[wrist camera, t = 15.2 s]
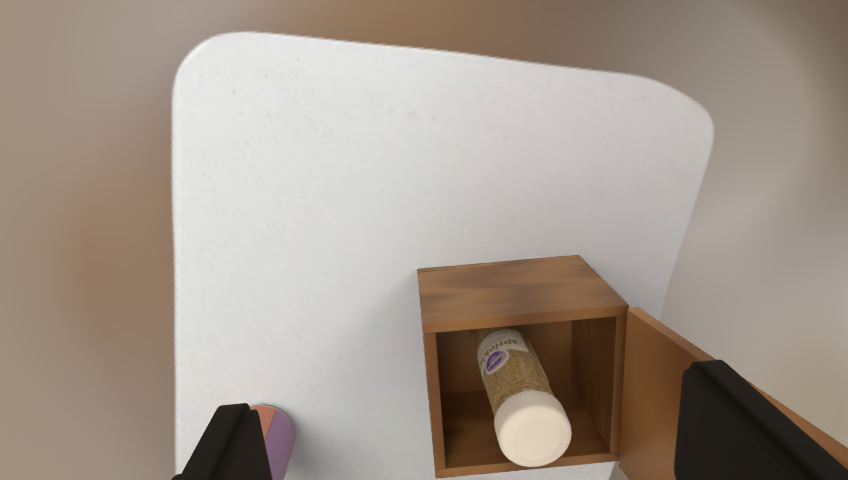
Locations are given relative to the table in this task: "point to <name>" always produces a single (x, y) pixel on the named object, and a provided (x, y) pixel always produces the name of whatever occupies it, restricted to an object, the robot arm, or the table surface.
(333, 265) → the table surface
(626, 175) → the table surface
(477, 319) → the brown wooden open box
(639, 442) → the wooden box lid
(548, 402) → the sprinkles bottle
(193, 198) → the table surface
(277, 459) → the beverage can
